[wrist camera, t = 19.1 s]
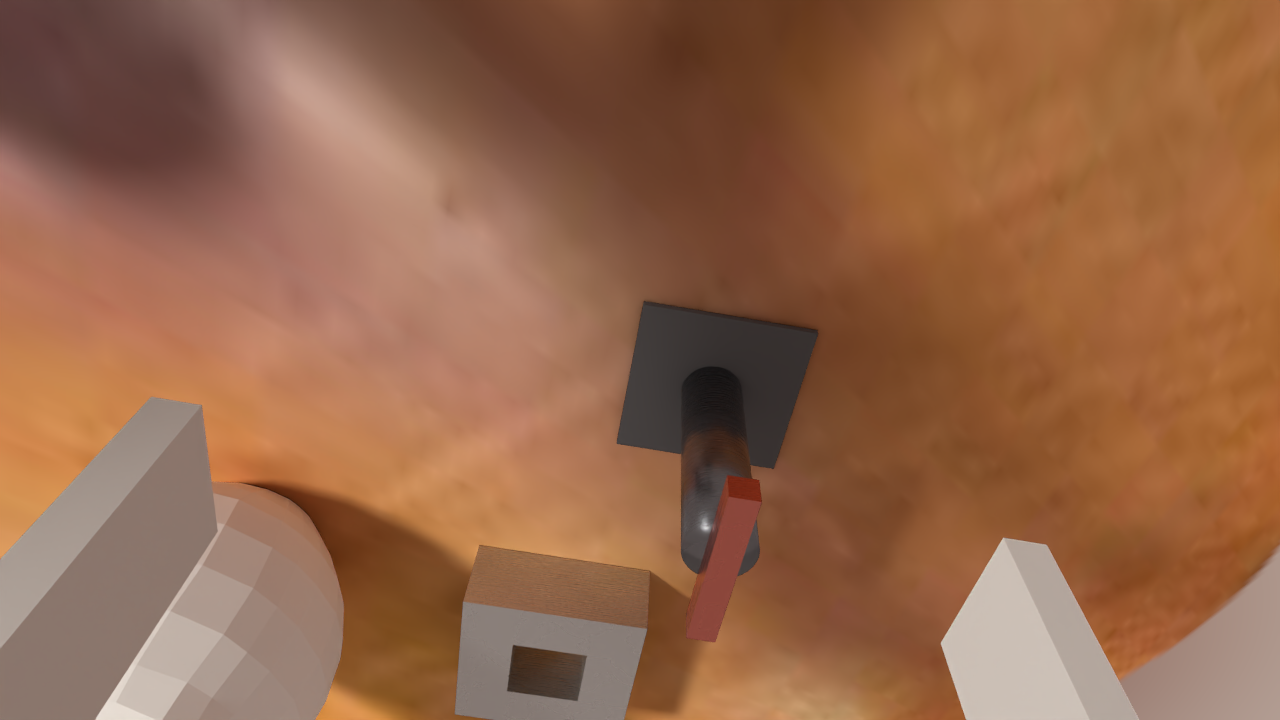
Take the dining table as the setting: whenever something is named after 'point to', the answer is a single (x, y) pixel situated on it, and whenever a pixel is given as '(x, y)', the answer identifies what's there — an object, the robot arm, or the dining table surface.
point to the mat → (702, 339)
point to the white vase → (243, 623)
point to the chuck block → (549, 637)
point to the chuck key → (715, 495)
